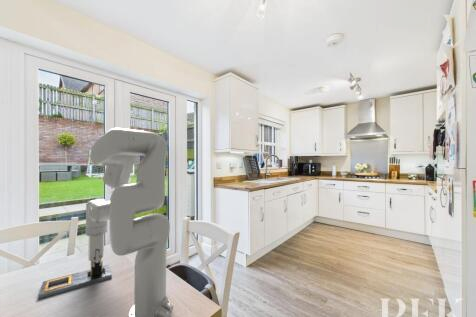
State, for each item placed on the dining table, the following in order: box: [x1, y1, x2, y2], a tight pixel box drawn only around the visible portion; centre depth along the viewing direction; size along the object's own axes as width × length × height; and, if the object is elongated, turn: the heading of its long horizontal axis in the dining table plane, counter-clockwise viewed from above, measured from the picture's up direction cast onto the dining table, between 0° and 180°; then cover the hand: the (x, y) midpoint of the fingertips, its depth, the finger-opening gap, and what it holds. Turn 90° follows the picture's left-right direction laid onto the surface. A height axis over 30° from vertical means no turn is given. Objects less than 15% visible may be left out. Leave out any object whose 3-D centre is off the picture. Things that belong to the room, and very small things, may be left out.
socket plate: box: [38, 264, 113, 300], centre depth 83 cm, size 22×10×2 cm, turn 127°
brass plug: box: [90, 258, 104, 278], centre depth 86 cm, size 4×4×7 cm
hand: (96, 272), depth 86 cm, fingers open, 4 cm apart
